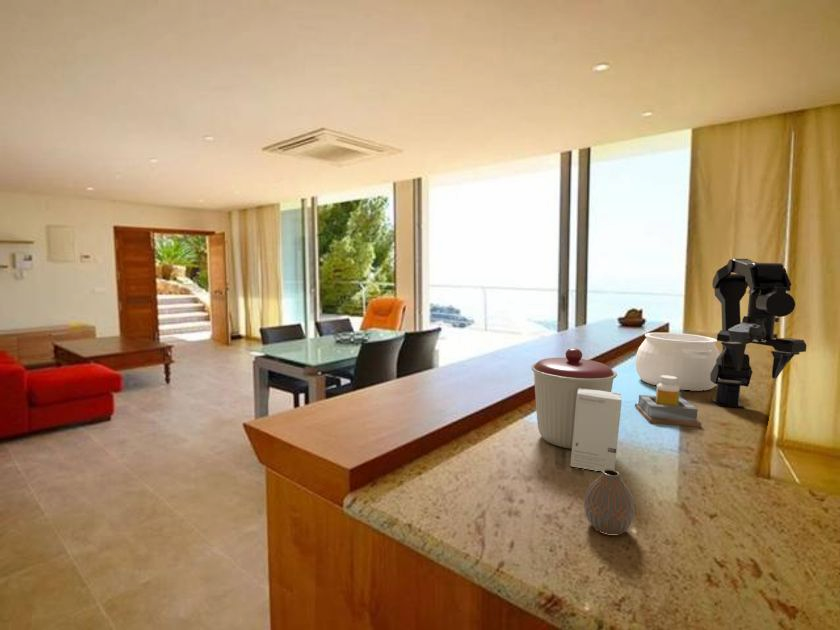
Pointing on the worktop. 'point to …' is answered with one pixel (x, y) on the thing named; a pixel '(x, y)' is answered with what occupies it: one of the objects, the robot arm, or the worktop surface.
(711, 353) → the pot
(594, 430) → the skincare box
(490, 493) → the worktop surface
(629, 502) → the vase
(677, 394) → the supplement bottle
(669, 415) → the socket board
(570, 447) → the canister
